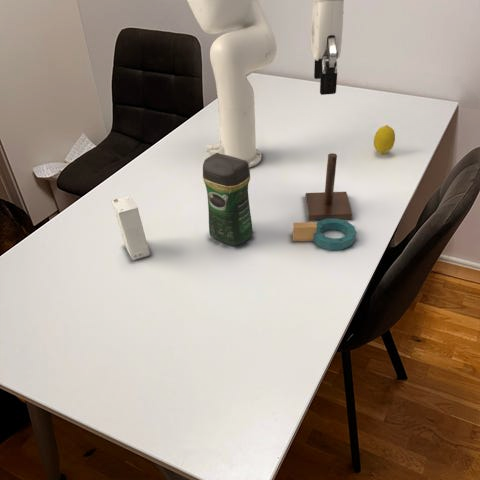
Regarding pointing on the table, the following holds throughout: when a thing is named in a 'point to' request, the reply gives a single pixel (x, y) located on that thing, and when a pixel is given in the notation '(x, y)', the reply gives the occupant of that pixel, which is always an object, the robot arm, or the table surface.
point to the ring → (314, 233)
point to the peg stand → (328, 198)
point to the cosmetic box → (131, 227)
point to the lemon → (384, 139)
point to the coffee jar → (228, 198)
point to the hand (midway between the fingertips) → (324, 85)
